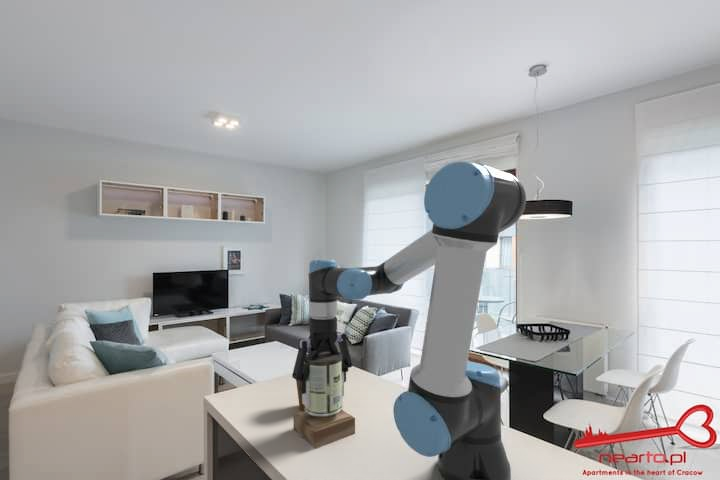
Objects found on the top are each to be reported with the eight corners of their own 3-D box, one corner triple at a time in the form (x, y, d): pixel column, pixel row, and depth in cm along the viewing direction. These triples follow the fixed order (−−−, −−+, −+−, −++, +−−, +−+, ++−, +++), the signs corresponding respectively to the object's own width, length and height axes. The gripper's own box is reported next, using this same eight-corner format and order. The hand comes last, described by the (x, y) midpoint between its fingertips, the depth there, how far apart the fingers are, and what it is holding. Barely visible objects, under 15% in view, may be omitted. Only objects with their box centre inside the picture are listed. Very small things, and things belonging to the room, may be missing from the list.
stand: (355, 433, 96) (354, 416, 96) (315, 448, 88) (315, 430, 89) (331, 416, 105) (330, 401, 105) (293, 429, 98) (293, 412, 98)
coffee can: (311, 398, 103) (311, 349, 103) (346, 401, 101) (346, 350, 101) (298, 415, 93) (298, 360, 93) (336, 418, 91) (336, 362, 91)
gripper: (349, 310, 107) (349, 385, 107) (278, 319, 94) (278, 406, 93) (364, 313, 101) (365, 393, 101) (291, 324, 88) (291, 416, 87)
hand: (323, 399), depth 97 cm, fingers closed on coffee can, 10 cm apart
